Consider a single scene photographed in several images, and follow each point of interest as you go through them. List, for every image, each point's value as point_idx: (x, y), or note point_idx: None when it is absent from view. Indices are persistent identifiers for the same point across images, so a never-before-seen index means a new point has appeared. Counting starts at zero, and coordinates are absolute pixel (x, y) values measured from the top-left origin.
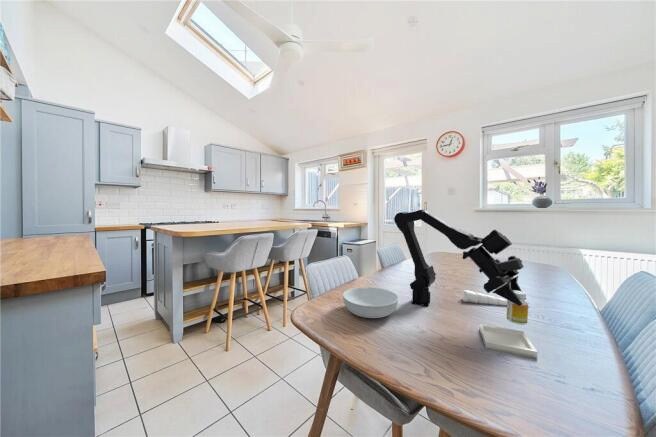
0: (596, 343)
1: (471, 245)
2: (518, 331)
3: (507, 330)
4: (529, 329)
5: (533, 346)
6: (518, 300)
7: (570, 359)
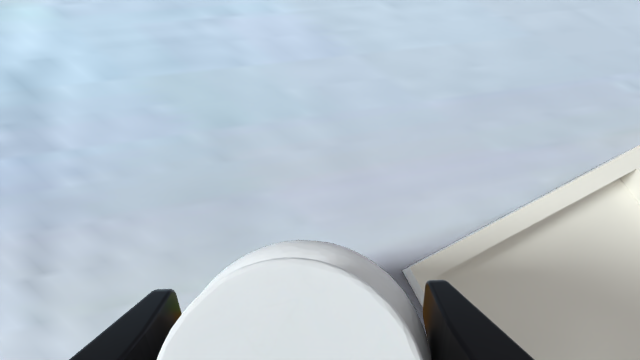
0: (167, 6)
1: None
2: None
3: None
4: None
5: (590, 172)
6: (489, 322)
7: (467, 58)
